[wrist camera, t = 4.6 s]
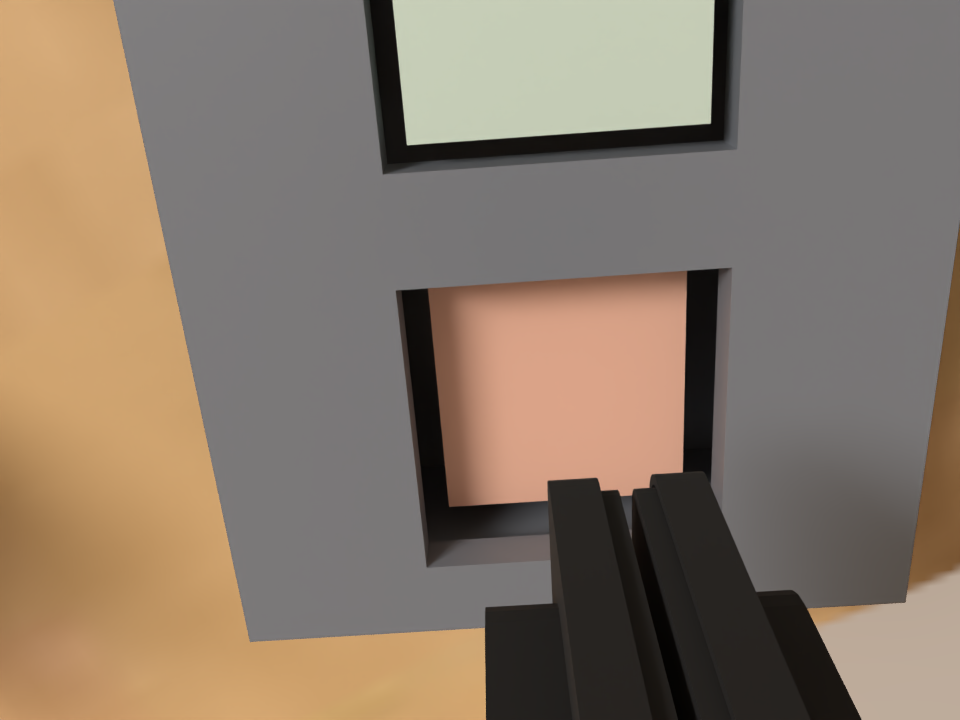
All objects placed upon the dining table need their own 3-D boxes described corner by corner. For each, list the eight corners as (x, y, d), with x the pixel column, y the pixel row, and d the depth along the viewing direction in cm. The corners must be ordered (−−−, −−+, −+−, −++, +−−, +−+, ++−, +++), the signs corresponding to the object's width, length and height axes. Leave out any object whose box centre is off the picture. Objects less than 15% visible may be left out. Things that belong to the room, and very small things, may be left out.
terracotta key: (433, 246, 18) (427, 286, 15) (660, 231, 17) (687, 268, 15) (451, 445, 19) (448, 507, 17) (658, 432, 19) (682, 492, 17)
